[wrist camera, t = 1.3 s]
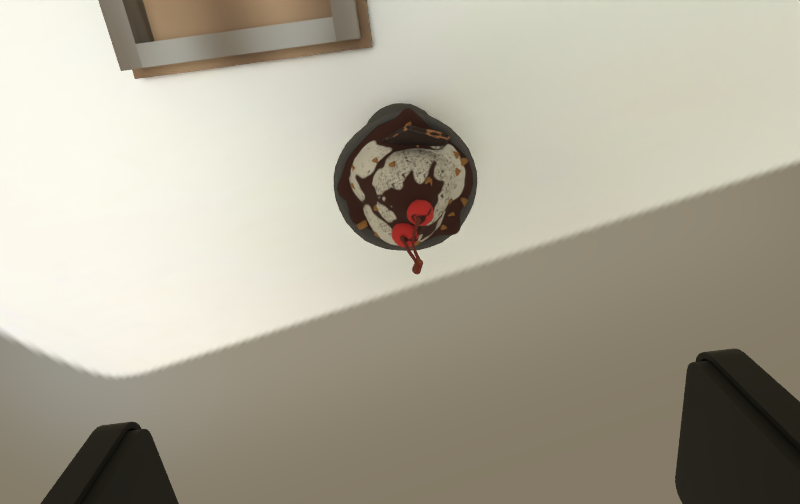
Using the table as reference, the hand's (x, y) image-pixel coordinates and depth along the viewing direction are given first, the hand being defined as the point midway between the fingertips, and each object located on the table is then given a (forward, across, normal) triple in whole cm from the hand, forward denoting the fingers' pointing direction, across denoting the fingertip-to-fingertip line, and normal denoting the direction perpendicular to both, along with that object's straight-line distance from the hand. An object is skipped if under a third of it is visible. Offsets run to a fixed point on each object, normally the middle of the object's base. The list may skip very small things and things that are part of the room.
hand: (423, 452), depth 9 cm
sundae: (+27, 0, 0) cm, 27 cm away
